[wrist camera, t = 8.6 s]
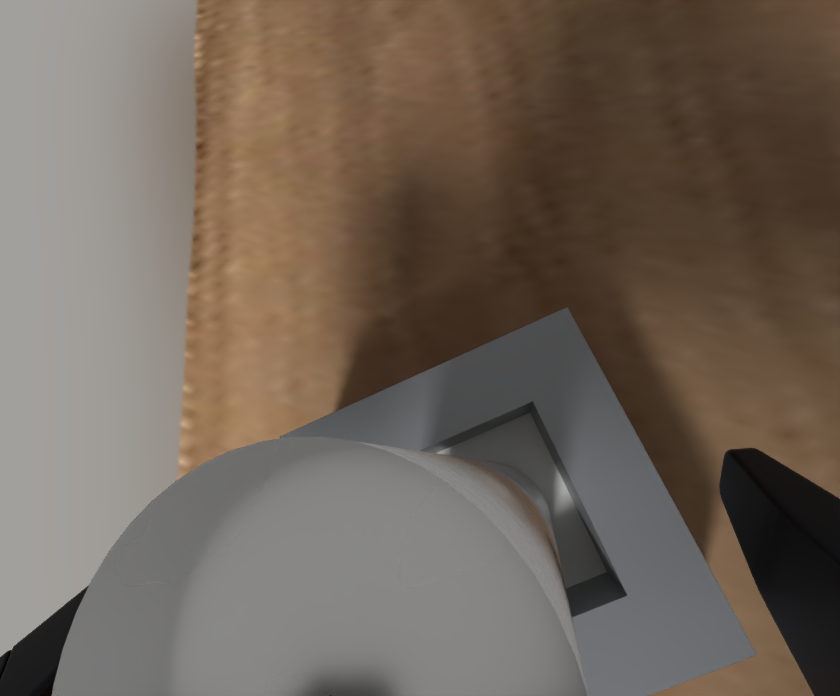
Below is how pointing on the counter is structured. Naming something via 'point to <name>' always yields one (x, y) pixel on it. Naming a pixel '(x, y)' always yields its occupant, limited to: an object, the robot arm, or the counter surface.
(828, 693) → the robot arm
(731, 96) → the counter surface
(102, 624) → the steel pin
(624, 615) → the socket block
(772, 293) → the counter surface
